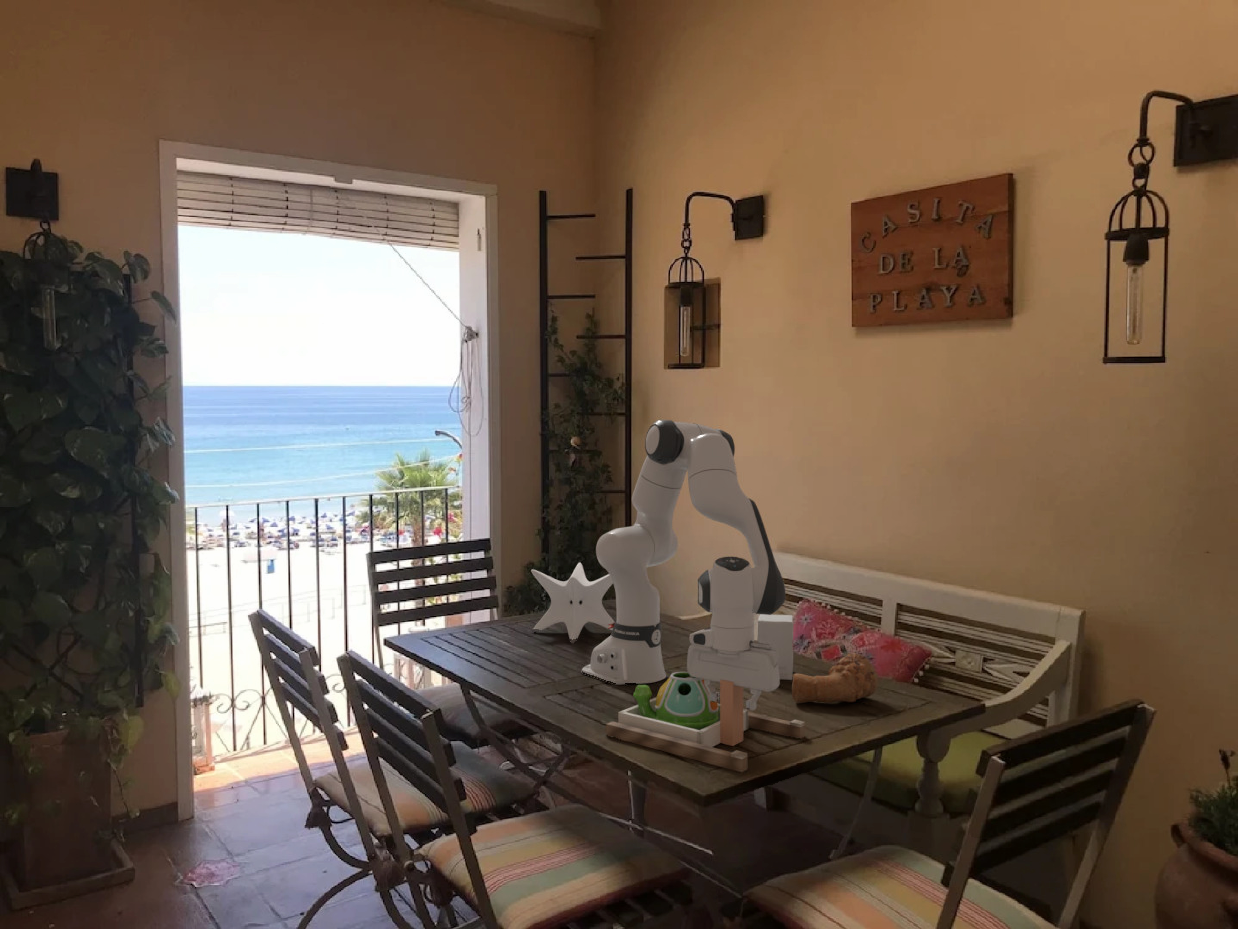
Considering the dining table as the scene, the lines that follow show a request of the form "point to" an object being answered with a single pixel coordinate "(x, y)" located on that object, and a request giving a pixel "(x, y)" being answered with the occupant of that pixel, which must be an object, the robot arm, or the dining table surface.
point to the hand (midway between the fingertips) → (732, 705)
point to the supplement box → (778, 640)
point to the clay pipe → (838, 682)
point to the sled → (722, 731)
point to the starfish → (575, 601)
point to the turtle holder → (679, 702)
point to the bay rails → (703, 752)
